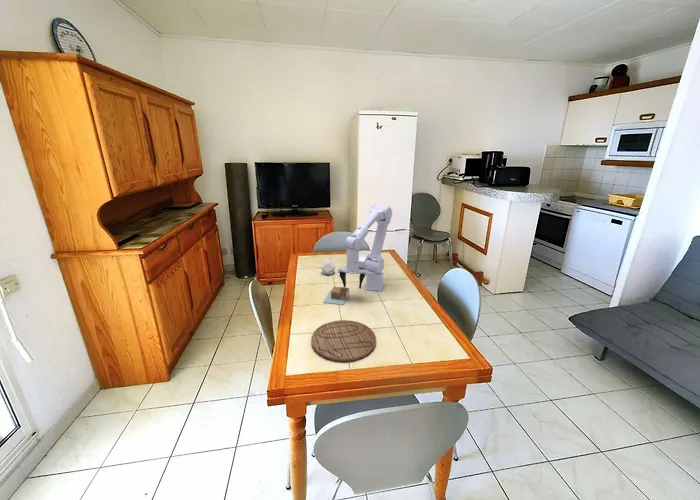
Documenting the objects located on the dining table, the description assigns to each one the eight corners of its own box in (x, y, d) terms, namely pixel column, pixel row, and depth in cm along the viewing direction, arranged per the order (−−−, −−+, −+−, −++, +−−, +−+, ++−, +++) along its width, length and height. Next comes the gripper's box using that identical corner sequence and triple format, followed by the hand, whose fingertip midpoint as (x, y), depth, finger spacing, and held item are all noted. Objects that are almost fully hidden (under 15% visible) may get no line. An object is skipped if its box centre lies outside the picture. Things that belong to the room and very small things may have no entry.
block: (349, 287, 152) (333, 286, 153) (347, 293, 146) (331, 291, 148) (349, 294, 153) (333, 293, 155) (347, 300, 148) (331, 299, 149)
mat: (348, 292, 157) (348, 291, 157) (343, 304, 144) (343, 304, 144) (330, 290, 159) (330, 289, 159) (323, 303, 146) (323, 302, 146)
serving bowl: (360, 258, 207) (360, 248, 205) (387, 264, 195) (387, 254, 193) (342, 266, 191) (342, 256, 189) (370, 274, 179) (370, 264, 177)
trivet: (386, 356, 109) (386, 351, 109) (318, 369, 103) (317, 364, 102) (363, 320, 132) (363, 316, 131) (306, 329, 125) (306, 325, 125)
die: (329, 278, 175) (338, 264, 175) (317, 270, 175) (325, 256, 175) (330, 277, 183) (338, 264, 184) (318, 270, 183) (326, 257, 184)
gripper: (336, 263, 141) (336, 289, 146) (366, 265, 139) (366, 291, 143) (339, 258, 148) (339, 283, 152) (368, 260, 146) (367, 285, 150)
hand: (352, 287), depth 148 cm, fingers open, 7 cm apart
